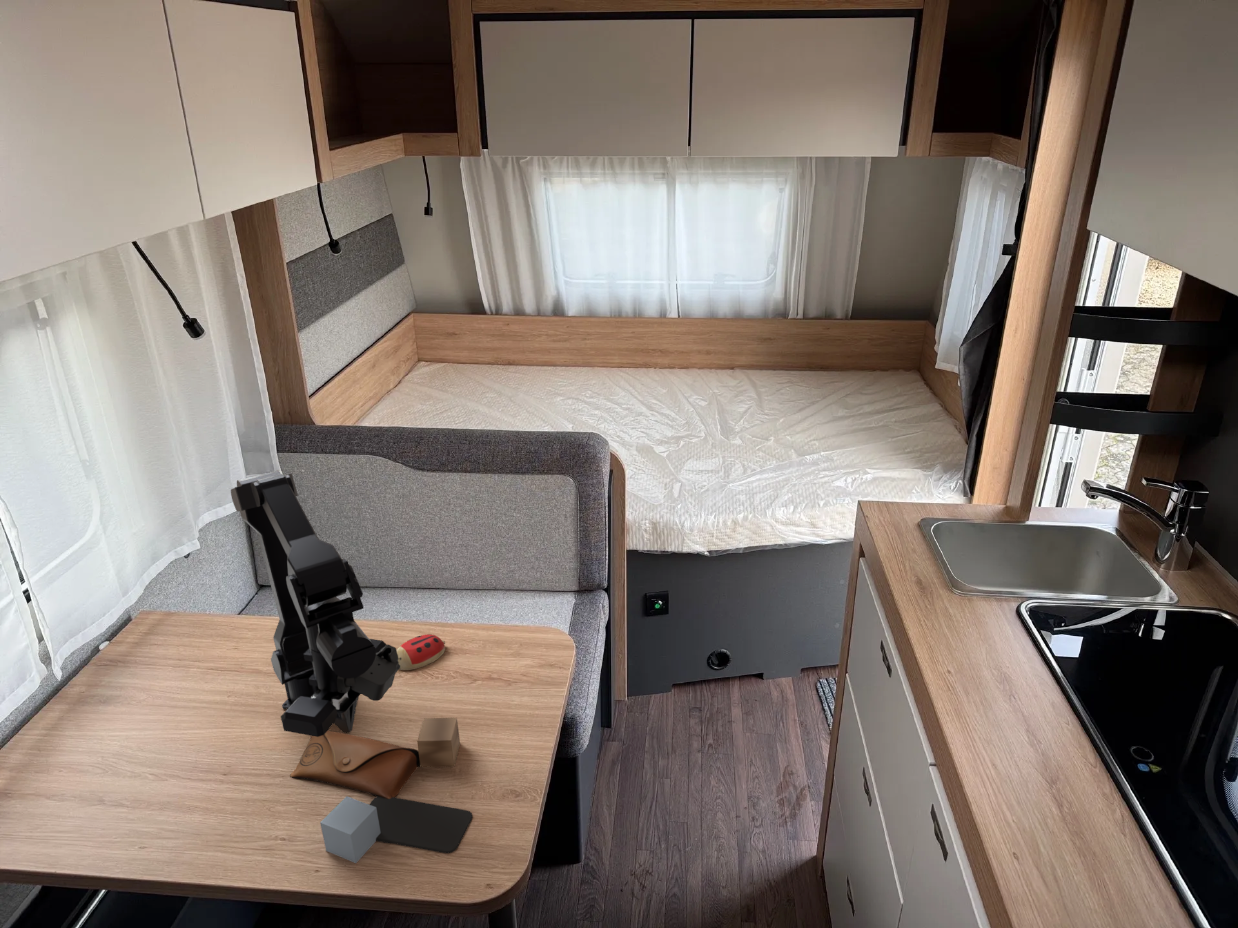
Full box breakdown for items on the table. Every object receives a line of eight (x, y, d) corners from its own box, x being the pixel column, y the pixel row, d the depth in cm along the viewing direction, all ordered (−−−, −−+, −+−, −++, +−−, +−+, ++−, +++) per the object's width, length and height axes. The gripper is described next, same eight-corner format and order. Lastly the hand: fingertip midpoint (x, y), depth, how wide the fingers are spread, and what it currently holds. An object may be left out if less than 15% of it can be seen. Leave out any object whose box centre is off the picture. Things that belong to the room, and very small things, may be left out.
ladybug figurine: (386, 661, 150) (383, 644, 149) (434, 639, 156) (432, 622, 155) (404, 678, 146) (402, 661, 144) (454, 654, 152) (452, 638, 150)
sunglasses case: (284, 777, 124) (292, 731, 125) (313, 768, 131) (320, 723, 131) (393, 801, 119) (401, 753, 120) (417, 790, 126) (424, 744, 127)
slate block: (326, 851, 112) (320, 822, 110) (352, 823, 116) (346, 795, 114) (355, 863, 110) (350, 834, 108) (381, 835, 114) (376, 807, 112)
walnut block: (420, 767, 126) (416, 740, 124) (427, 744, 130) (424, 718, 128) (454, 766, 126) (451, 740, 124) (460, 743, 130) (456, 717, 128)
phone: (453, 853, 111) (349, 833, 114) (454, 857, 111) (350, 838, 114) (475, 810, 117) (376, 793, 120) (475, 815, 118) (377, 797, 121)
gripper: (346, 691, 106) (363, 787, 112) (415, 611, 123) (427, 699, 129) (269, 678, 109) (290, 773, 115) (347, 602, 125) (362, 688, 132)
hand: (347, 731), depth 122 cm, fingers closed
